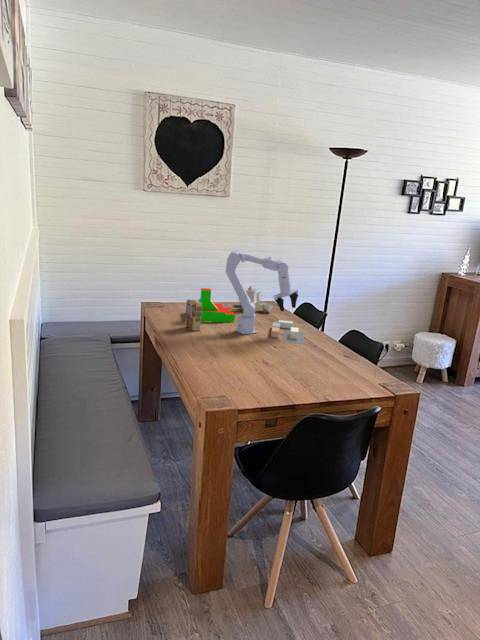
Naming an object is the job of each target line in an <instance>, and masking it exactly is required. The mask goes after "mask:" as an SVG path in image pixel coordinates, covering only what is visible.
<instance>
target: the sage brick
mask: <svg viewBox="0 0 480 640" xmlns="http://www.w3.org/2000/svg"><path fill="white" fill-rule="evenodd" d="M278 323H280V329H281V328H283V329H288V330H289V329H290V330H291V327H294V326H293V325H294V321H291V320H283V319H279V320H278Z"/></svg>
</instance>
